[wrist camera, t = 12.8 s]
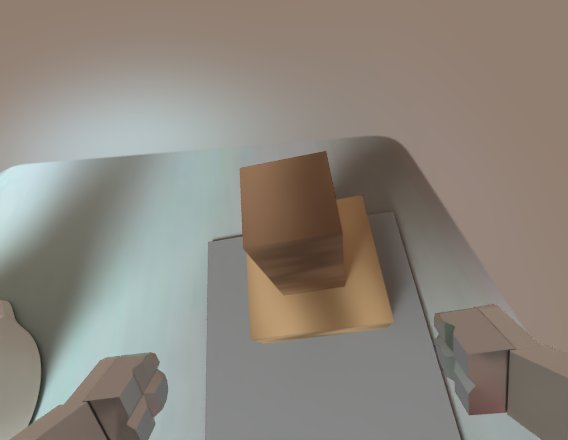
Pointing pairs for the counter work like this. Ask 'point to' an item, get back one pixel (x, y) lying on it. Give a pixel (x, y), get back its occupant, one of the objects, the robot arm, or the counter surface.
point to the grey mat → (323, 364)
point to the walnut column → (293, 223)
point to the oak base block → (325, 291)
